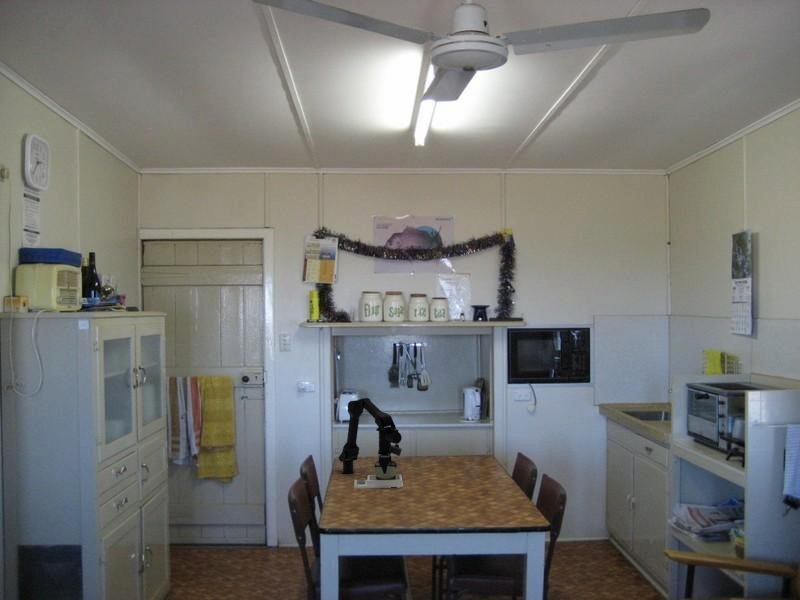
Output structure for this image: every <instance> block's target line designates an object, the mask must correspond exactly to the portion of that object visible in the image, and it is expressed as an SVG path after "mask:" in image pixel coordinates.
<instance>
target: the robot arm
mask: <svg viewBox="0 0 800 600" xmlns="http://www.w3.org/2000/svg"><path fill="white" fill-rule="evenodd" d="M364 409H365V411H366V412H367V413H368V414H370V415H371V417H372V418H373V419H374V423H375V424H376V426H377V428H376V429H375V430H376V431H377V432H378V452H377V455H378V461H379V463H380V465H381V468H382V470H383V473H384V474H386V471H387V466H388V463H389V462H391V460H392V455H391V454H393V455H396V456H399V457H400V456H401V454H402V450H403V449H402V448H401V447H400V443H401V441H402V438H403V436H402V434H401V433H400V432H399V429H397V427H396V424H395V422H394V420H393V417H392V416H391V414H388V413H387V412H383V411H382V410H381V409H379V408H378V406H377V405H375V404H374V403H373V402H372V401H371V398H369V397H364V398H360V399H356V400H350V401H349V402H348V403H347V412H348V415H349V422H348V429H347V439H346V443H345V444H344V445H343V447H342V451H341V453H340V455H339V456H338V460H339V462H341V463H342V470H341V474H355V469H354V461H358V458H359V457H358V456H359V454H360V446H358V444H357V439H358V431H359V430H358V429H359V423H360V417H362V414H363V412H364ZM393 444H394V445H393Z"/></svg>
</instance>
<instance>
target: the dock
mask: <svg viewBox="0 0 800 600" xmlns="http://www.w3.org/2000/svg"><path fill="white" fill-rule="evenodd" d="M403 482H404V481H403V477H402V474H396V480H376V475H375V474H368V475H367V479H354V483H353V485H354V486H353V489H392V488H391V487H397V488H396V489H398V488H399V489H401V488H400V487H403V488H404V483H403Z"/></svg>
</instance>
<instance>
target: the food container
mask: <svg viewBox="0 0 800 600" xmlns="http://www.w3.org/2000/svg"><path fill="white" fill-rule="evenodd" d="M398 465H399V464H398V462H396V461H395V460H392V459H391V462H389V463H388V466H387V471H386V474H384V473H383V470H382V468H381V465H380V463H379V460H377V461H376V462H375V463H374V464H373V469H374V475H376V480H396V475H397V469H398V468H399V466H398Z"/></svg>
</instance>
